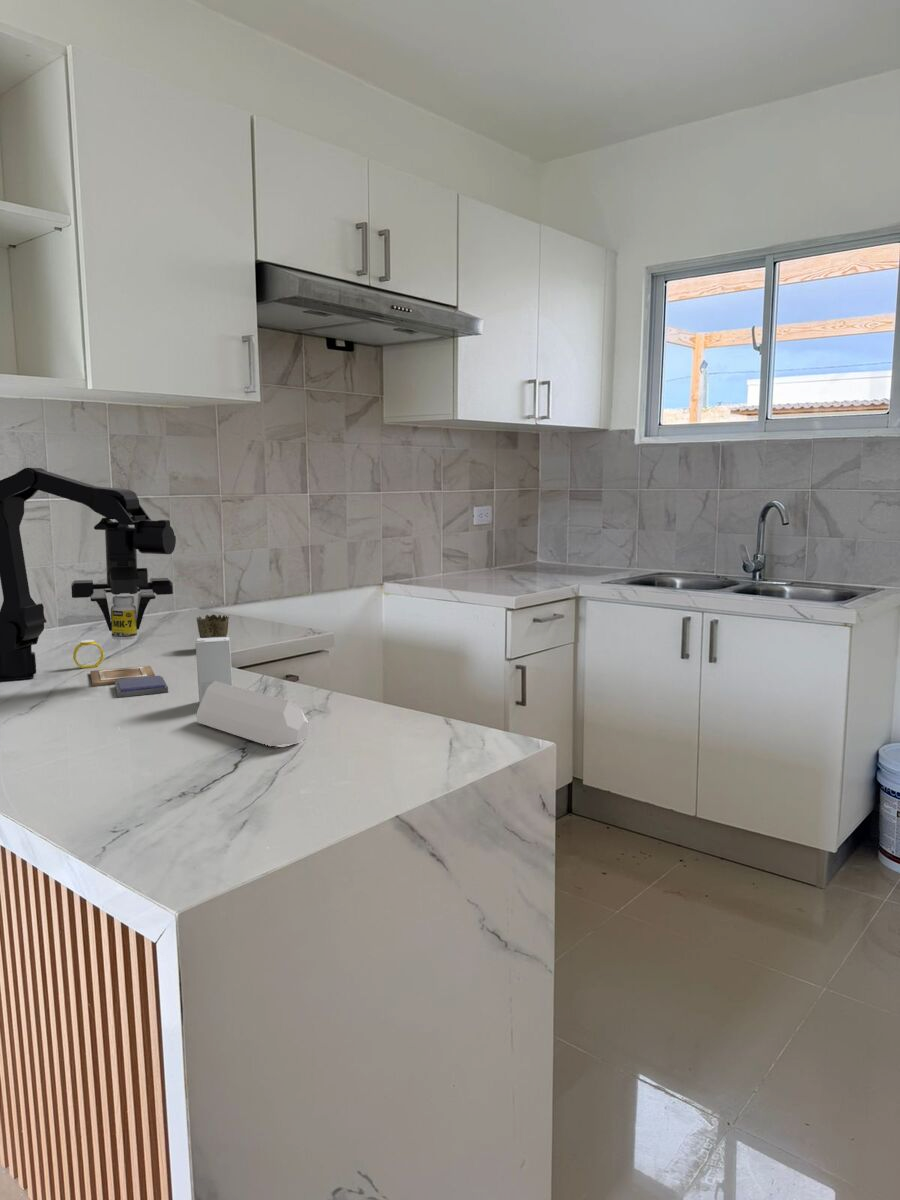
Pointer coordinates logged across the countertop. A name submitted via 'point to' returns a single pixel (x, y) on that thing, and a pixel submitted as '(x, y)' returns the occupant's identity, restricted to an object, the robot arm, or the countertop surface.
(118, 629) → the supplement bottle
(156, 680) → the ink pad
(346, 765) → the countertop surface
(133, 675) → the marked board
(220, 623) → the cup
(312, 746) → the countertop surface
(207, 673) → the skincare box
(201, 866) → the countertop surface
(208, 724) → the crystal
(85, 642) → the watch
